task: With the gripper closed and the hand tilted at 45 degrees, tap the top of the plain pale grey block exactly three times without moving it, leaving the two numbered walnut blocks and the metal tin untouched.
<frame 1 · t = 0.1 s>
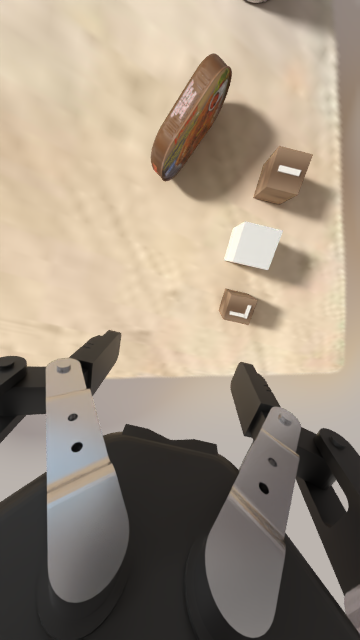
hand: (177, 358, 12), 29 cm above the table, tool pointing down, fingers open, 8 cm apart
plain block: (243, 248, 36), on the table
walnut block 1: (271, 185, 33), on the table
tin: (188, 142, 31), on the table
walnut block 7: (232, 302, 40), on the table
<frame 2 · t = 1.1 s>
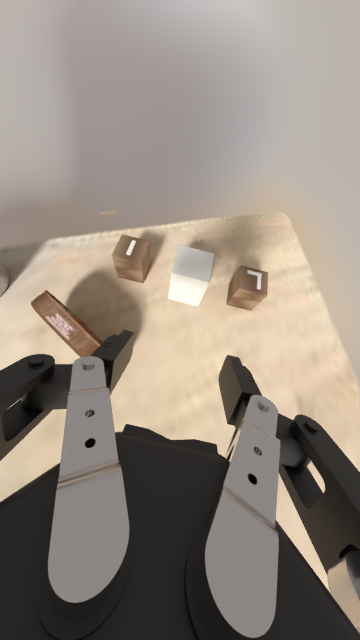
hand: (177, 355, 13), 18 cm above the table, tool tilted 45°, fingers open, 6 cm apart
plain block: (186, 289, 37), on the table
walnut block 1: (134, 270, 37), on the table
tin: (87, 341, 31), on the table
walnut block 7: (239, 297, 38), on the table
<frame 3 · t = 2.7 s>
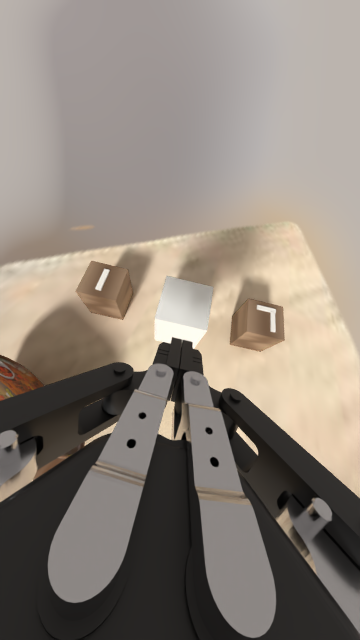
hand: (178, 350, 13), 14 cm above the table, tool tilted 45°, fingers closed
plain block: (178, 326, 29), on the table
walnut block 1: (112, 302, 29), on the table
tin: (44, 407, 23), on the table
walnut block 7: (245, 333, 30), on the table
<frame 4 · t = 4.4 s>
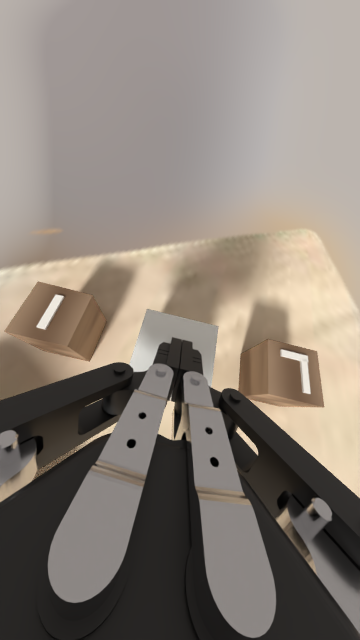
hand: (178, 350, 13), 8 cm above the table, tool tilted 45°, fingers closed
plain block: (167, 370, 21), on the table, touching gripper
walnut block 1: (77, 335, 21), on the table
walnut block 7: (259, 379, 22), on the table
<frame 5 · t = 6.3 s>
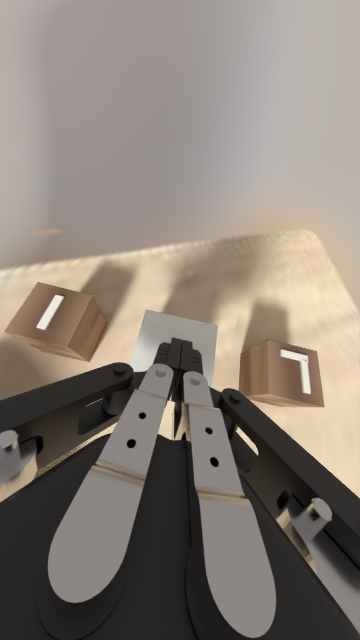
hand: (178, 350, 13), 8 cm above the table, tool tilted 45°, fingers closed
plain block: (167, 370, 21), on the table, touching gripper
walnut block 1: (77, 335, 21), on the table
walnut block 7: (259, 379, 22), on the table
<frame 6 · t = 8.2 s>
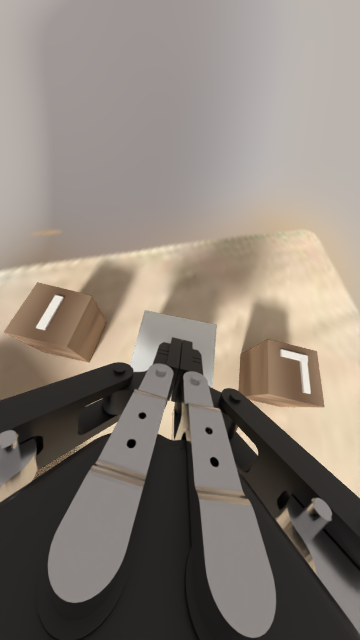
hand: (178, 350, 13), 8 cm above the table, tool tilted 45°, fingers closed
plain block: (167, 371, 21), on the table, touching gripper
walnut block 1: (76, 336, 21), on the table
walnut block 7: (259, 379, 22), on the table
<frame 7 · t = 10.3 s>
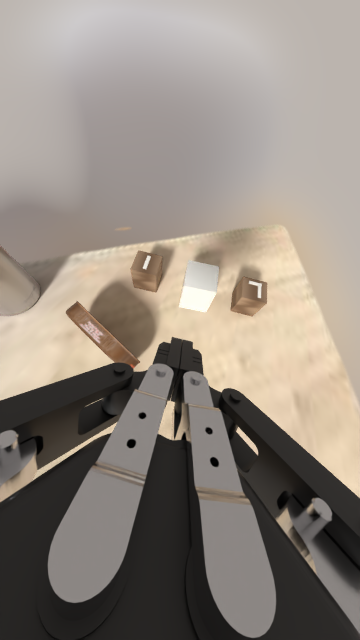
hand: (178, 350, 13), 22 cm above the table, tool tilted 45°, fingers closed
plain block: (194, 298, 41), on the table
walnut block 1: (148, 280, 42), on the table
tin: (109, 344, 35), on the table
walnut block 7: (242, 304, 42), on the table
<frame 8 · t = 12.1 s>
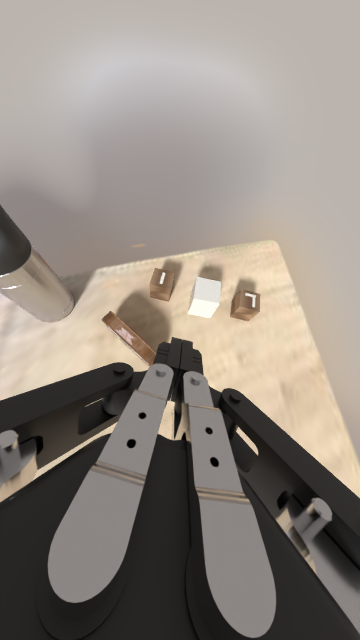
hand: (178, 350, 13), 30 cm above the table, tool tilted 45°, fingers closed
plain block: (200, 306, 49), on the table
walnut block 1: (161, 291, 50), on the table
tin: (132, 344, 43), on the table
walnut block 7: (239, 311, 50), on the table
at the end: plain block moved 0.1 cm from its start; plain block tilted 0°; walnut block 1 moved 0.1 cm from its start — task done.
